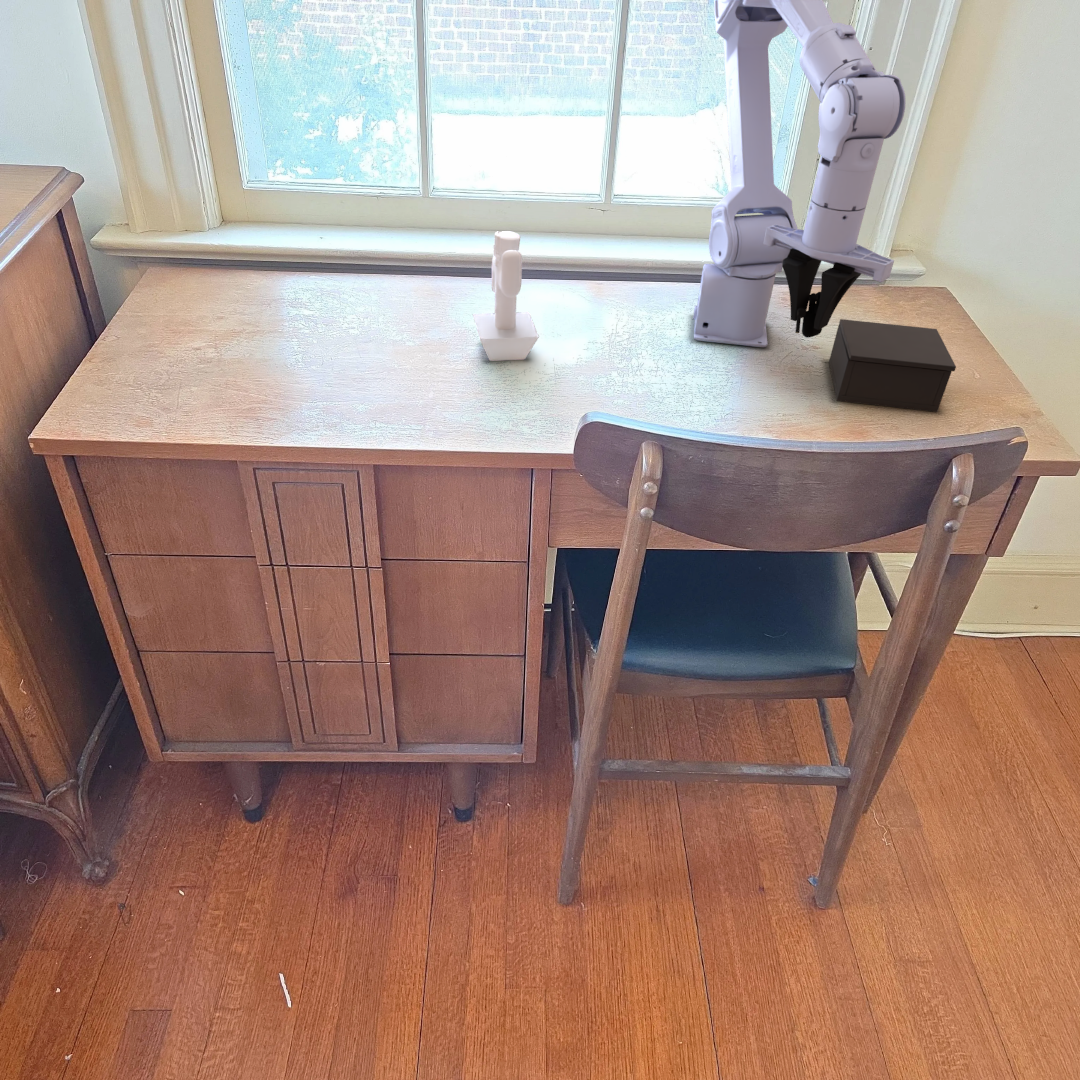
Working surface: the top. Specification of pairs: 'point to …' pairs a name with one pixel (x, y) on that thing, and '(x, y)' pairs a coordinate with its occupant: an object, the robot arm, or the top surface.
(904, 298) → the top surface
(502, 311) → the figurine
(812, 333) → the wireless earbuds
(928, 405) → the case
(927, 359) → the case lid
